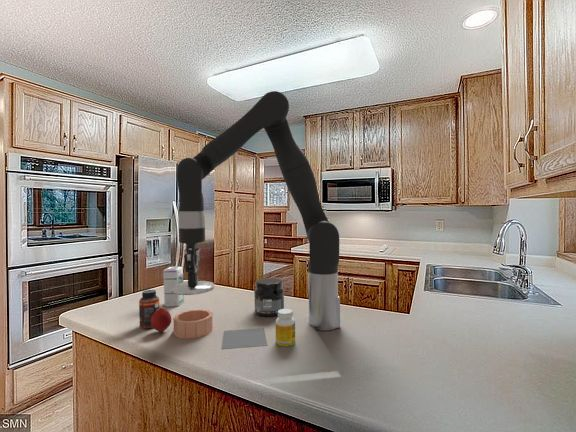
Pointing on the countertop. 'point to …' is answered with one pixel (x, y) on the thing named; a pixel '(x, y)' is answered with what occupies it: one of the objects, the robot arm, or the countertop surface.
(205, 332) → the bowl
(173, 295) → the syrup box
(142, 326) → the supplement bottle
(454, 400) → the countertop surface
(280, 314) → the supplement bottle
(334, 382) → the countertop surface
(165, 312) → the onion
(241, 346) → the mat
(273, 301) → the supplement container
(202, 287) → the lid
